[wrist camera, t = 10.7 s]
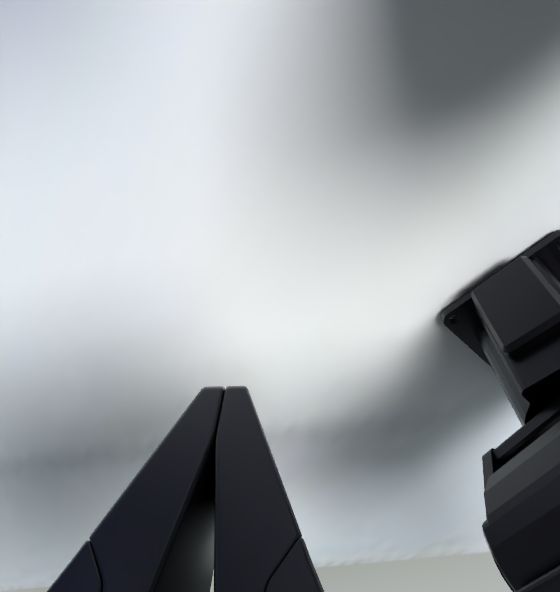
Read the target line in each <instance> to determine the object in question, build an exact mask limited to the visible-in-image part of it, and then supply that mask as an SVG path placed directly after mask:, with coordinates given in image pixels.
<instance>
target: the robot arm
mask: <svg viewBox="0 0 560 592" xmlns="http://www.w3.org/2000/svg"><path fill="white" fill-rule="evenodd" d="M559 241H560V230H557V231H555V232H553V233H552V234H550V235H549V236H547V237H546V238H544V239H543V240H542V241H540V242H539V243H537V244H536V245H535V246H533V247H532V248H530V249H529V250H528V251H526V252H525V253H523V254H522V255H521V256H519V257H518V258H516V259H515V260H513V261H512V262H511V263H509V264H508V265H506V266H505V267H504V268H502V269H501V270H499V271H498V272H497V273H495V274H494V275H492V276H491V277H490V278H488V279H487V280H485V281H484V282H482V283H481V284H480V285H478V286H477V287H475V288H474V289H473V290H471V291H470V292H468V293H467V294H466V295H464V296H463V297H461V298H460V299H459V300H457V301H456V302H454V303H453V304H451V305H450V306H449V307H447V308H446V309H445V310H444V311H443V312H442V314H441V318H442V320H443V322H444V324H445V326H446V327H448V328H449V329H450V330H451V331H452V332H453V333H454V334H455V335H456V336H458V337H459V338H460V339H461V340H462V341H463V342H464V343H465V344H466V345H468V346H469V347H470V348H471V349H472V350H473V351H474V352H475V353H476V354H478V355H479V356H480V357H481V358H482V359H483V360H484V361H485V362H486V363H488V364H489V365H490V366H491V367H492V368H493V370H494V372H495V374H496V376H497V378H498V380H499V382H500V384H501V386H502V388H503V390H504V391H505V393H506V395H507V397H508V399H509V401H510V403H511V405H512V407H513V409H514V411H515V413H516V415H517V417H518V419H519V420H520V422H521V424H522V427H521V428H520V429H519V430H518V431H516V432H515V433H514V434H513V435H512V436H510V437H509V438H508V439H507V440H505V441H504V442H503V443H502V444H501V445H499V446H498V447H497V448H496V449H493V448H492V449H491V450H489V451H488V452H487V453H486V454H485V455H483V457H482V460H483V474H484V488H485V491H484V498H485V506H486V517H487V520H486V521H485V522H484V523H483V525H482V527H483V533H484V537H485V539H486V541H487V544H488V546H489V549H490V551H491V554H492V556H493V558H494V561H495V563H496V565H497V567H498V569H499V571H500V573H501V575H502V577H503V578H504V580H505V581H506V583H507V584H508V586H509V587H510V589H511V590H512V591H513V592H560V244H559V245H557V244H558V242H559ZM453 315H457V316H456V317H455V318H453V319H449V318H450V317H451V316H453ZM213 570H214V592H324V590H323V588H322V585H321V583H320V580H319V578H318V575H317V573H316V570H315V568H314V566H313V563H312V561H311V558H310V555H309V553H308V550H307V547H306V544H305V542H304V539H303V538H302V534H301V532H300V529H299V526H298V523H297V521H296V518H295V515H294V513H293V510H292V507H291V505H290V502H289V499H288V496H287V494H286V491H285V488H284V486H283V483H282V480H281V477H280V475H279V472H278V469H277V467H276V464H275V461H274V459H273V456H272V453H271V450H270V448H269V445H268V442H267V440H266V437H265V434H264V432H263V429H262V426H261V423H260V421H259V418H258V415H257V413H256V410H255V407H254V404H253V402H252V399H251V396H250V394H249V391H248V389H247V387H245V386H228V387H226V389H225V388H224V387H221V386H219V387H204V388H203V389H202V390H201V391H200V392H199V393H198V395H197V396H196V397H195V399H194V400H193V401H192V403H191V404H190V405H189V407H188V408H187V409H186V411H185V412H184V413H183V415H182V416H181V417H180V418H179V420H178V421H177V422H176V424H175V425H174V426H173V428H172V429H171V430H170V432H169V433H168V434H167V436H166V437H165V438H164V440H163V441H162V442H161V444H160V445H159V446H158V448H157V449H156V450H155V451H154V453H153V454H152V455H151V457H150V458H149V459H148V461H147V462H146V463H145V465H144V466H143V467H142V469H141V470H140V471H139V473H138V474H137V475H136V477H135V478H134V479H133V480H132V482H131V483H130V484H129V486H128V487H127V488H126V490H125V491H124V492H123V494H122V495H121V496H120V498H119V499H118V500H117V502H116V503H115V504H114V506H113V507H112V508H111V509H110V511H109V512H108V513H107V515H106V516H105V517H104V519H103V520H102V521H101V523H100V524H99V525H98V527H97V528H96V529H95V531H94V532H93V533H92V534H91V536H90V541H86V542H85V543H84V545H83V546H82V547H81V549H80V550H79V551H78V553H77V554H76V555H75V557H74V558H73V559H72V561H71V562H70V563H69V564H68V566H67V567H66V568H65V569H64V571H63V572H62V573H61V574H60V576H59V577H58V578H57V579H56V581H55V582H54V583H53V584H52V586H51V587H50V588H49V590H48V591H47V592H210V587H211V581H212V576H213Z"/></svg>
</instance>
